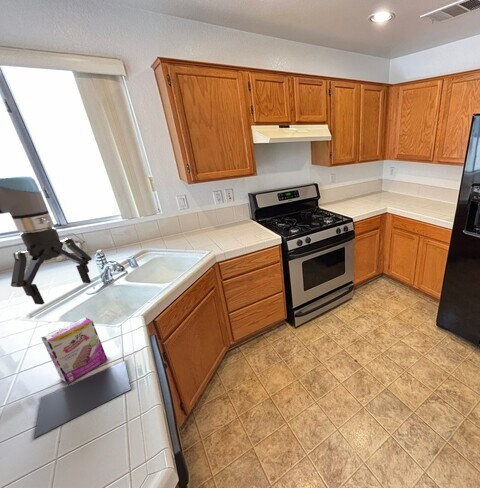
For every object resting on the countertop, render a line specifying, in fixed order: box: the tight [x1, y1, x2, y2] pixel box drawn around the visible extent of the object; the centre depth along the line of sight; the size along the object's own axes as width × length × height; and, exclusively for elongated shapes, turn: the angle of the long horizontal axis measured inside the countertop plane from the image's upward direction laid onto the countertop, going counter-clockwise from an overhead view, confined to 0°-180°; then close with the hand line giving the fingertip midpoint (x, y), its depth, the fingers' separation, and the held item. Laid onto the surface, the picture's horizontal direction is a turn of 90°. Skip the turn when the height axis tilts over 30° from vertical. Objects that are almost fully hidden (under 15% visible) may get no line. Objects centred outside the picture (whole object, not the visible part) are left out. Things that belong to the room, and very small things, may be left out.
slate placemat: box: [34, 360, 132, 439], centre depth 77 cm, size 20×16×1 cm
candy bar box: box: [40, 316, 108, 385], centre depth 84 cm, size 11×5×16 cm, turn 154°
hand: (65, 292), depth 85 cm, fingers open, 13 cm apart
